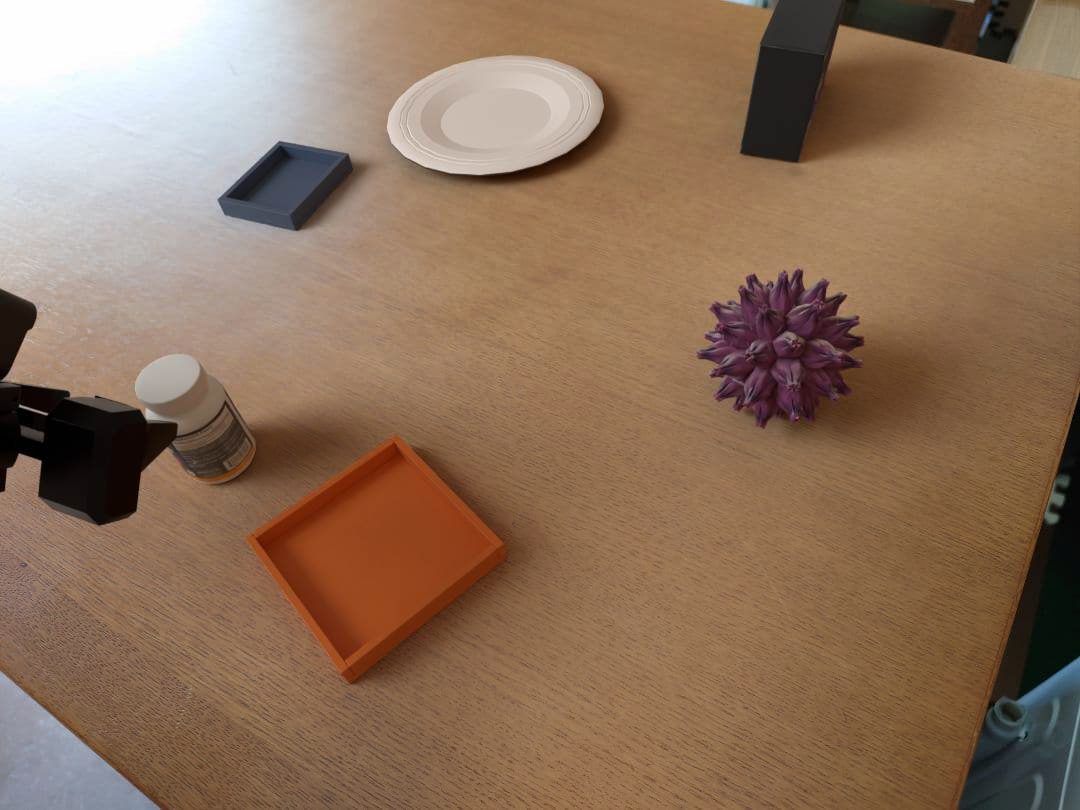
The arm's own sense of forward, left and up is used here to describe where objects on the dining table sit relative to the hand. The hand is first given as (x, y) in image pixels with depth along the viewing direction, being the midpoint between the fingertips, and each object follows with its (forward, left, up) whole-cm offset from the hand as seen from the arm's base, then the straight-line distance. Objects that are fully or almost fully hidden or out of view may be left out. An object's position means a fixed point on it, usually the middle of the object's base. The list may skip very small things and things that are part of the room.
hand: (120, 413), depth 52 cm
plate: (+49, +25, -11) cm, 56 cm away
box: (+72, +2, -11) cm, 73 cm away
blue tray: (+25, +31, -11) cm, 41 cm away
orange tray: (+9, -14, -11) cm, 20 cm away
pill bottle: (+4, +2, -11) cm, 12 cm away
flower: (+40, -23, -11) cm, 47 cm away
